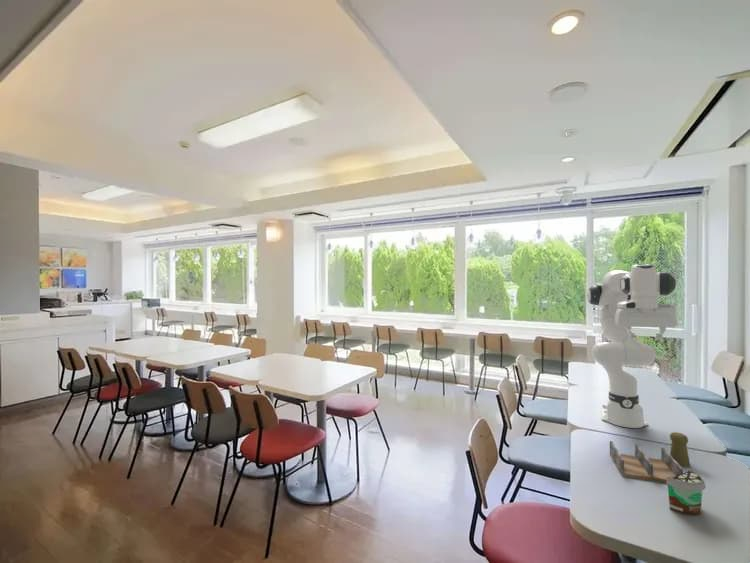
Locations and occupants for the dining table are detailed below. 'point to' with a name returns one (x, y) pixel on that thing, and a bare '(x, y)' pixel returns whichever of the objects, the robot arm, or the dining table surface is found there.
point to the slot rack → (645, 465)
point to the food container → (686, 492)
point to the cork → (679, 449)
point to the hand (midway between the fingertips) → (645, 337)
